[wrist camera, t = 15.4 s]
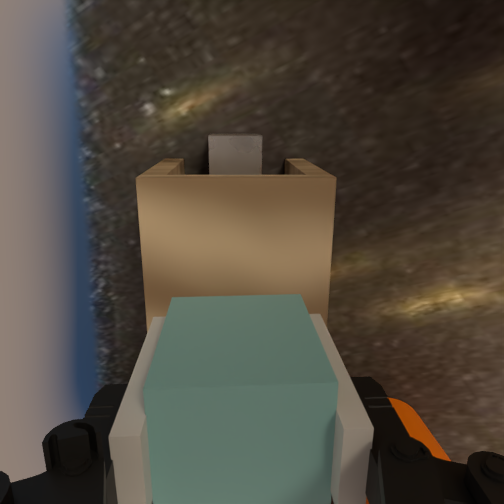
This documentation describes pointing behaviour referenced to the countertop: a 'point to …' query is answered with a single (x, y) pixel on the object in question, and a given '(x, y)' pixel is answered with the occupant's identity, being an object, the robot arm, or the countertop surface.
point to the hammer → (235, 154)
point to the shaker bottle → (417, 429)
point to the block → (240, 403)
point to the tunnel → (235, 234)
